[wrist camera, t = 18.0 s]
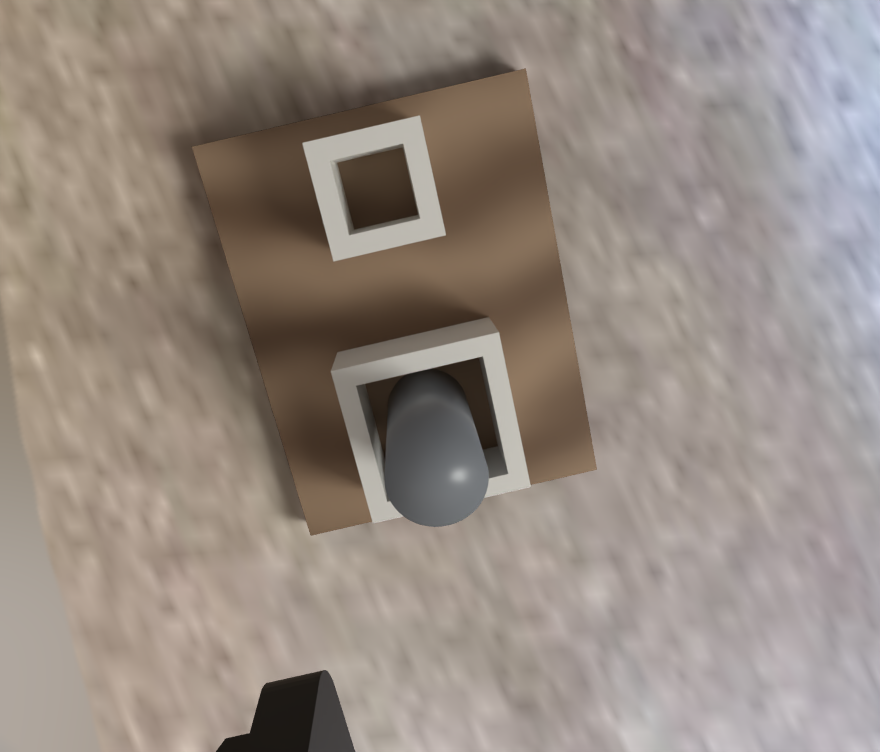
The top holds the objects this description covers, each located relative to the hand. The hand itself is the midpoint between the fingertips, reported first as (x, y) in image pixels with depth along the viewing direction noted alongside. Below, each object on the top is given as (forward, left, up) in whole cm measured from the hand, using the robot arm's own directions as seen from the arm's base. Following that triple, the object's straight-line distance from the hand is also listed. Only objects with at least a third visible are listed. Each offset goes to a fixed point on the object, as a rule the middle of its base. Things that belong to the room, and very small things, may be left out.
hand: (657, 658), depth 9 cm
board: (+1, -3, -32) cm, 32 cm away
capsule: (+6, -3, -31) cm, 31 cm away
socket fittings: (+1, -3, -31) cm, 31 cm away
